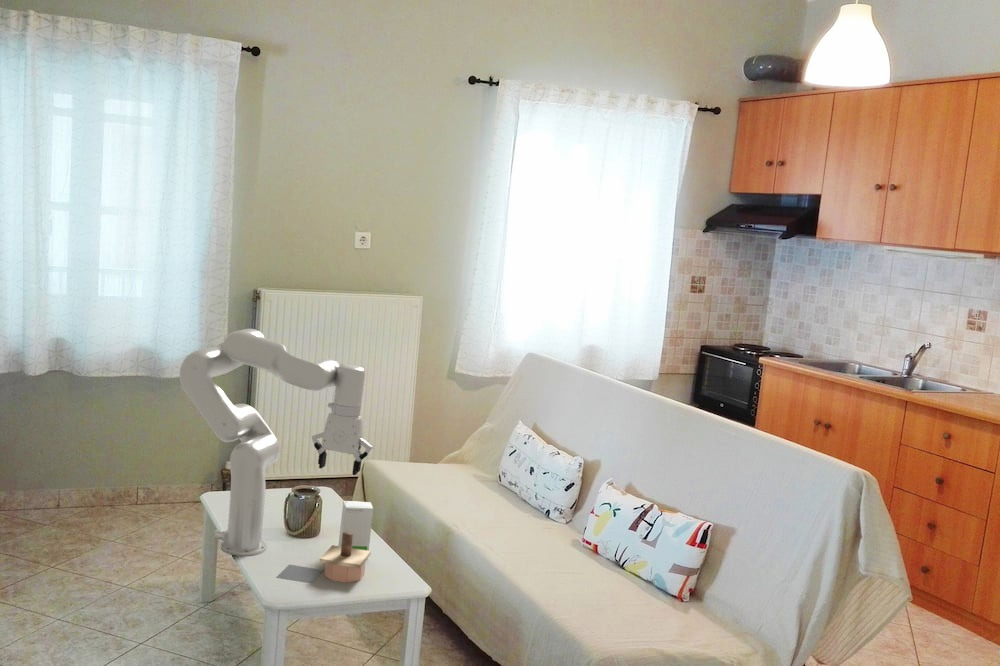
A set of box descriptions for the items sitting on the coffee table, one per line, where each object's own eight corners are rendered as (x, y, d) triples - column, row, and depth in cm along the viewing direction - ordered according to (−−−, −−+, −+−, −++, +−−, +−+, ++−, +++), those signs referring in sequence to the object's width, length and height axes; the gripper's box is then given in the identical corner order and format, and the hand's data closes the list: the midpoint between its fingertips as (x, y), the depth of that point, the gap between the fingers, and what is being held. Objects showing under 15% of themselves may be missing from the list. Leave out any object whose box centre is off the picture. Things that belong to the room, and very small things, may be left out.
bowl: (320, 579, 255) (322, 561, 255) (332, 566, 265) (333, 549, 265) (356, 585, 254) (358, 567, 254) (367, 572, 264) (368, 554, 263)
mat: (275, 578, 253) (275, 577, 253) (289, 565, 263) (289, 564, 263) (312, 584, 252) (312, 583, 251) (324, 571, 261) (324, 569, 261)
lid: (319, 562, 254) (321, 536, 253) (332, 548, 265) (334, 524, 264) (359, 568, 253) (361, 542, 252) (370, 554, 264) (372, 530, 263)
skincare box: (339, 560, 270) (344, 507, 269) (337, 552, 277) (341, 500, 275) (369, 560, 273) (373, 508, 271) (366, 552, 279) (370, 500, 277)
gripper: (311, 407, 259) (303, 467, 261) (372, 418, 256) (364, 480, 259) (321, 402, 266) (313, 461, 269) (380, 413, 264) (372, 473, 266)
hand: (338, 470), depth 264 cm, fingers open, 9 cm apart
